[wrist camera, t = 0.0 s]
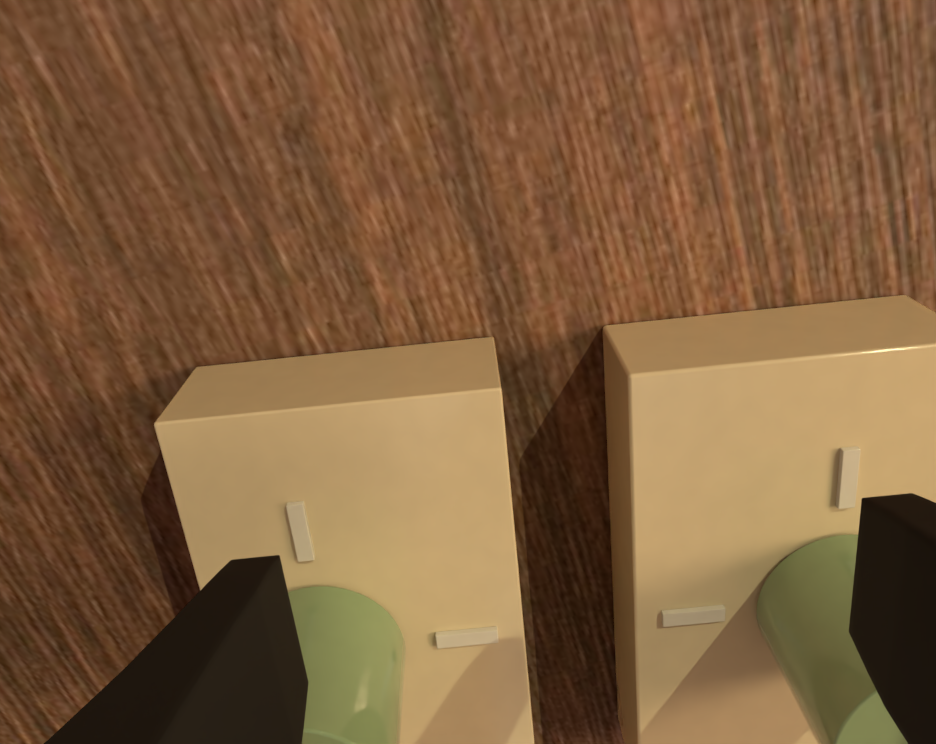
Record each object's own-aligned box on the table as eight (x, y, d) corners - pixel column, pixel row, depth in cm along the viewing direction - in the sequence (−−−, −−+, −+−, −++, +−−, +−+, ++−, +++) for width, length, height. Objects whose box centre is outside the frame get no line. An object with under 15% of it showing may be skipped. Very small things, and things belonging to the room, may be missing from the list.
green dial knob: (415, 702, 19) (406, 878, 15) (263, 717, 19) (215, 895, 15) (394, 576, 18) (379, 733, 14) (230, 592, 18) (169, 753, 14)
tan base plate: (530, 724, 24) (542, 823, 21) (242, 751, 24) (213, 852, 21) (494, 335, 19) (502, 391, 16) (135, 372, 19) (79, 434, 16)
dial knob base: (911, 689, 23) (976, 783, 20) (617, 716, 24) (641, 813, 21) (967, 286, 19) (1063, 334, 16) (601, 324, 19) (629, 378, 16)
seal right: (907, 656, 19) (1029, 822, 15) (752, 671, 19) (832, 839, 15) (925, 525, 18) (1064, 669, 14) (758, 541, 18) (847, 690, 14)
